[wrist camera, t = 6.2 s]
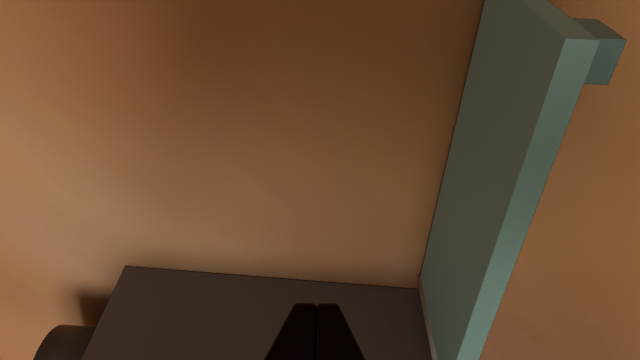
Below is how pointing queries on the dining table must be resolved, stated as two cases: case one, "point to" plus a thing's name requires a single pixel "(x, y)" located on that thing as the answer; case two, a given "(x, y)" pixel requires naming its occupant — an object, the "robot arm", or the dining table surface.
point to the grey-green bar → (503, 159)
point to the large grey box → (233, 318)
